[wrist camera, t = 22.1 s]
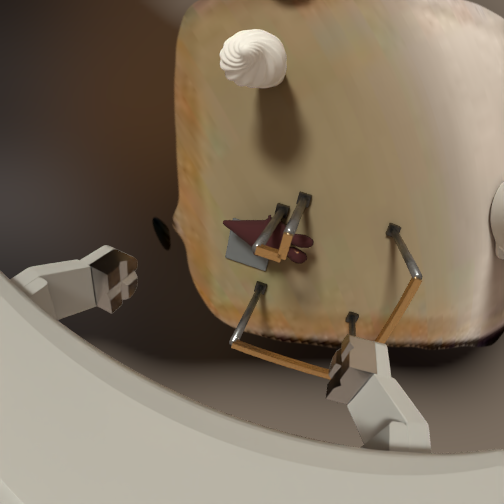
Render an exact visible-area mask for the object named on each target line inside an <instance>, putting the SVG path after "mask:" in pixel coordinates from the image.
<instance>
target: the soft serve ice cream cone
mask: <svg viewBox="0 0 504 504" xmlns="http://www.w3.org/2000/svg"><path fill="white" fill-rule="evenodd" d="M220 58H221V61H220V67H221V69H222V70H224V71H225V75H226V78H227V79H228V80H230V81H234V82H235V83H236V84H237V85H238V86H247V87H249V88H269V87H273V86H277V85H279V84H280V83H281V82H282V81H283V79H284V76H285V74H286V69H287V65H286V60H287V58H286V52H285V50H284V46H283V44H282V43H281V41H280V40H279V39H278V38H277V37H276V36H274V35H272V34H270V33H268V32H266V31H263V30H258V29H253V30H244V31H240V32H238V33H236V34H235V35H233V36H232V37H230V38H229V39H227V40H226V41H225V43H224V47H223V48H222V50H221V51H220Z"/></svg>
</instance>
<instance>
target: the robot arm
mask: <svg viewBox="0 0 504 504" xmlns="http://www.w3.org/2000/svg"><path fill="white" fill-rule="evenodd" d="M491 228H492V232H493V235H494V238H495V242H496V256H497V257H498V258H500V259H503V260H504V182H503V183H502V184H501V185H500V187H499V188H498V190H497V192H496V194H495V196H494V199H493V203H492V207H491ZM136 269H137V260H136V259H135V258H134V257H132V256H130V255H128V254H125V253H124V252H121V251H119V250H117V249H115V248H112V247H110V246H106V245H105V246H103V247H101V248H100V249H98V250H96V251H94V252H93V253H91V254H90V255H88V256H86V257H85V258H83V259H82V260H80V261H79V260H71V261H65V262H58V263H52V264H46V265H40V266H34V267H29V268H27V269H26V270H24V271H23V272H21V273H20V274H18V275H16V276H15V277H13V278H12V279H11V280H9V279H8V278H7V277H6V276H5V275H4V274H3V273H2V272H1V271H0V504H504V450H502V449H492V450H483V451H474V452H460V453H431V446H430V435H429V426H428V424H427V422H426V421H425V419H424V418H423V416H422V415H421V414H420V413H419V411H418V410H417V408H416V407H415V405H414V404H413V403H412V401H411V400H410V399H409V397H408V396H407V395H406V393H405V392H404V391H403V389H402V388H401V386H400V385H399V384H398V382H397V381H396V380H395V379H394V378H391V372H390V365H389V357H388V350H387V346H386V344H383V343H379V342H375V341H370V340H366V339H362V338H359V337H355V336H352V335H349V334H347V335H346V337H345V338H344V340H343V341H342V348H341V349H339V350H338V351H336V353H335V355H334V357H333V359H332V362H331V364H330V368H329V377H330V378H331V380H330V381H329V383H328V384H327V393H326V399H328V400H332V401H335V402H339V403H343V404H346V405H347V407H348V409H349V411H350V414H351V416H352V418H353V420H354V423H355V425H356V427H357V429H358V432H359V434H360V436H361V439H362V441H363V443H364V445H363V446H362V447H360V448H359V447H352V446H346V445H340V444H334V443H330V442H325V441H320V440H315V439H310V438H306V437H302V436H298V435H294V434H290V433H286V432H283V431H279V430H276V429H272V428H269V427H265V426H263V425H259V424H256V423H253V422H250V421H247V420H244V419H241V418H238V417H235V416H232V415H230V414H227V413H225V412H222V411H219V410H217V409H214V408H212V407H209V406H207V405H204V404H202V403H200V402H197V401H195V400H193V399H190V398H188V397H186V396H184V395H181V394H179V393H177V392H175V391H173V390H171V389H169V388H167V387H165V386H163V385H161V384H159V383H157V382H155V381H153V380H151V379H149V378H147V377H145V376H143V375H142V374H140V373H138V372H136V371H134V370H132V369H131V368H129V367H127V366H125V365H124V364H122V363H120V362H119V361H117V360H115V359H114V358H112V357H110V356H109V355H107V354H105V353H104V352H102V351H100V350H99V349H98V348H96V347H94V346H93V345H91V344H90V343H88V342H87V341H85V340H84V339H83V338H81V337H80V336H78V335H77V334H75V333H74V332H72V331H71V330H70V329H68V328H67V327H66V326H64V325H63V324H61V323H60V322H59V321H58V319H61V318H64V317H67V316H70V315H73V314H75V313H78V312H81V311H84V310H87V309H90V308H93V307H95V306H96V305H97V306H98V307H100V308H102V309H104V310H106V311H108V312H110V313H113V312H114V311H116V309H118V308H119V307H120V306H121V305H122V300H124V299H129V298H130V297H131V296H132V295H133V294H134V292H135V290H136V288H137V283H138V277H137V275H136V273H135V270H136Z"/></svg>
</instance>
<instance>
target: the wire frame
mask: <svg viewBox="0 0 504 504" xmlns="http://www.w3.org/2000/svg"><path fill="white" fill-rule="evenodd" d="M311 196H312V195H310V194H307V193H304V192H299V196H298V200H297V203H296V204H297V206H296V208H295V210H294V212H293V214H292V216H291V218H290V220H289V222H288V224H287V226H286V228H285V230H284V232H283V233H284V234H283V238H282V241H281V245H280V248H279V250H278V249H275V248H272V247H269V246H266V243H267V241H268V240H269V238H270V236H271V235H272V233H273V232H274V230H275V228H276V227H277V225H278V223H279V222H280V220H281V218H285V219H286V217H287V214H288V210H289V207H290V206H287V205H283V204H280V203H278V204H277V207H276V211H275V215H274V216H273V218H272V219H271V221H270V222H269V223H268V225H267V226H266V228H265V229H264V230H263V232H262V233H261V235H260V236H259V237H258V239H257V240H256V242H255V243H254V244H253V246H252V251H253V252H254V253H255V255H258V256H261V257H264V258H267V259H270V260H273V261H276V262H279V263H280V261H281V259H283V260H286V257H287V254H288V251H289V248H290V244H291V241H292V238H293V236H294V234H295V232H296V229H297V227H298V224H299V221H300V219H301V216H302V214H303V211H304V209H305V207H308V206H309V203H310V199H311ZM400 230H401V227H400V226H398V225H395V224H393V223H390V224H389V226H388V229H387V231H386V235H388V236H391V237H393V238H394V240H395V242H396V244H397V246H398V248H399V250H400V252H401V254H402V256H403V258H404V261H405V263H406V265H407V267H408V269H409V271H410V274H411V276H412V278H411V280H410V282H409V284H408V286H407V288H406V289H405V291H404V293H403V295H402V297H401V299H400V300H399V302H398V304H397V306H396V307H395V309H394V311H393V312H392V314H391V316H390V317H389V319H388V321H387V322H386V324H385V326H384V327H383V329H382V330H381V332H380V334H379V335H378V337H377V338H376V340H375V342H379V343H383V344H384V343H385V342H386V340H387V339H388V337H389V336H390V334H391V333H392V331H393V330H394V328H395V327H396V325H397V324H398V322H399V320H400V319H401V317H402V315H403V314H404V312H405V310H406V309H407V307H408V305H409V304H410V302H411V300H412V299H413V297H414V295H415V293H416V291H417V290H418V288H419V286H420V284H421V282H422V274H421V272H420V270H419V269H418V267H417V265H416V263H415V261H414V259H413V257H412V255H411V254H410V252H409V250H408V248H407V246H406V245H405V243H404V241H403V239H402V238H401V236H400V234H399V232H400ZM266 287H267V284H265V283H262V282H259V281H257V283H256V286H255V289H254V291H255V293H254V295H253V297H252V299H251V301H250V303H249V305H248V306H247V308H246V310H245V312H244V314H243V316H242V318H241V320H240V322H239V324H238V326H237V328H236V330H235V331H234V333H233V336H232V337H231V339H230V341H229V344H230V345H232V347H231V348H234V349H237V350H239V351H242V352H244V353H247V354H250V355H253V356H256V357H259V358H261V359H264V360H267V361H270V362H273V363H276V364H279V365H283V366H286V367H289V368H292V369H295V370H298V371H302V372H305V373H308V374H312V375H315V376H319V377H323V378H326V379H330V380H331V378H330V377H329V370H328V369H325V368H321V367H318V366H314V365H311V364H307V363H304V362H301V361H298V360H294V359H291V358H288V357H285V356H282V355H279V354H276V353H273V352H270V351H267V350H264V349H261V348H258V347H256V346H253V345H250V344H247V343H244V342H242V341H239V339H240V337H241V335H242V333H243V331H244V329H245V327H246V325H247V323H248V320H249V318H250V316H251V314H252V312H253V310H254V308H255V306H256V304H257V302H258V300H259V297H260V295H261V294H263V295H264V293H265V290H266ZM358 317H359V314H356V313H353V312H350V311H349V313H348V315H347V317H346V322H349V335H352V336H355V337H356V328H355V323H356V321H357V319H358Z"/></svg>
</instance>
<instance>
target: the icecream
mask: <svg viewBox="0 0 504 504" xmlns="http://www.w3.org/2000/svg"><path fill="white" fill-rule="evenodd" d="M271 219H272V218H271V215H269V216H268V219H266V220H224V221H223V224H224V225H225V226H226V227H227V228H229V229H230V230H231V231H232V232H234V233H235V234H236V235H238V236H239V237H240V238H241V239H243V240H244V241H245V242H246V243H248V244H249V245H250V246H251V247H252V246H253V244H254V243H255V242H256V240H257V239H258V237H259V236H260V235H261V233H262V232H263V230H264V229H265V228H266V226H267V225H268V223H269V222H270V221H271ZM285 228H286V225H285V224H284V223H283V222H281V221H280V222H279V223H278V225H277V227H276V228H275V230H274V232H273V233H272V235H271V236H270V238H269V240H268V241H267V243H266V246H269V247H272V248H275V249H278V250H279V248H280V245H281V241H282V238H283V234H284V233H283V232H284V230H285ZM291 244H292V245H295V246H298V247H300V248H309V247H311V246H312V245H313V240H312V239H311V238H310V237H308V236H306V235H301V234H294V236H293V238H292V241H291ZM253 253H254V252H253ZM254 255H255V253H254ZM256 256H258V255H256ZM287 257H288V258H290V260H291V261H293V262H295V263H303V262H305V261H306V260H307V256H306V254H305V253H304V252H302V251H301V250H299V249H297V248H295V247H290V248H289V251H288V254H287Z"/></svg>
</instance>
